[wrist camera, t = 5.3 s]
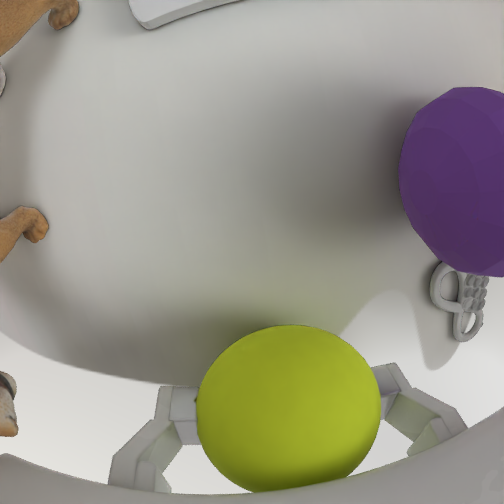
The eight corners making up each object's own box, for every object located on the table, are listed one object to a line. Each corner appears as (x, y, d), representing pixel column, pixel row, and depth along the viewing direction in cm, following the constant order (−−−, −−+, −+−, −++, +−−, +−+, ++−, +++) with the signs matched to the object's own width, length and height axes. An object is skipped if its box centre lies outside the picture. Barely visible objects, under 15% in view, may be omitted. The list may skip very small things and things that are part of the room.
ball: (358, 283, 11) (448, 407, 5) (332, 390, 14) (372, 495, 8) (189, 293, 11) (170, 457, 5) (206, 402, 13) (208, 520, 7)
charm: (423, 286, 11) (472, 229, 10) (417, 280, 12) (465, 225, 11) (464, 352, 14) (499, 312, 13) (459, 347, 14) (495, 307, 13)
